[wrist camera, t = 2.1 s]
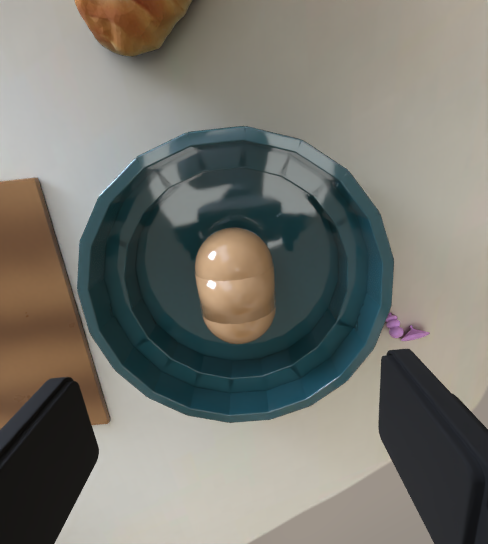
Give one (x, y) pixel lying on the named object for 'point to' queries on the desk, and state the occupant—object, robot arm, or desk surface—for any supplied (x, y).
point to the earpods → (398, 331)
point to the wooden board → (38, 307)
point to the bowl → (287, 272)
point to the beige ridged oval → (236, 285)
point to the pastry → (131, 22)
